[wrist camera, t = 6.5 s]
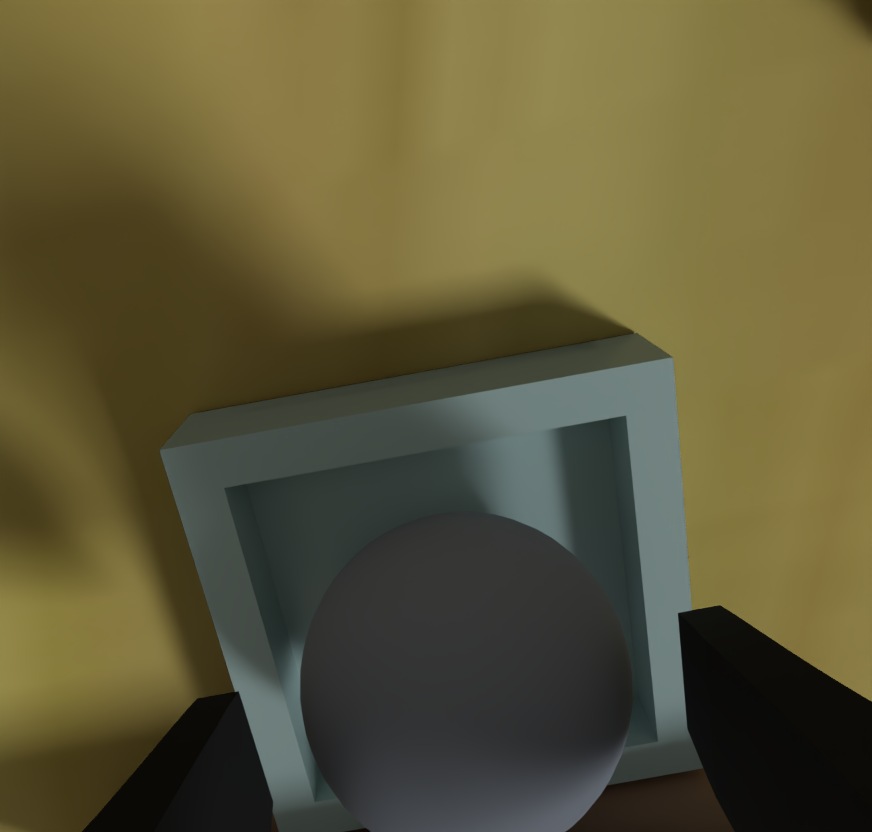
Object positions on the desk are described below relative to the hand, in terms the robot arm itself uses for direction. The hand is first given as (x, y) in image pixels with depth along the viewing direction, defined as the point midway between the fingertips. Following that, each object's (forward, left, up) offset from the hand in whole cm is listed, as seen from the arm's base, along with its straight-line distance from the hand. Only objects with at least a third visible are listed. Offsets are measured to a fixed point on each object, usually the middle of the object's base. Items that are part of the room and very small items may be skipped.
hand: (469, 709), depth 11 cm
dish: (0, 0, -4) cm, 4 cm away
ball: (0, 0, -3) cm, 3 cm away
